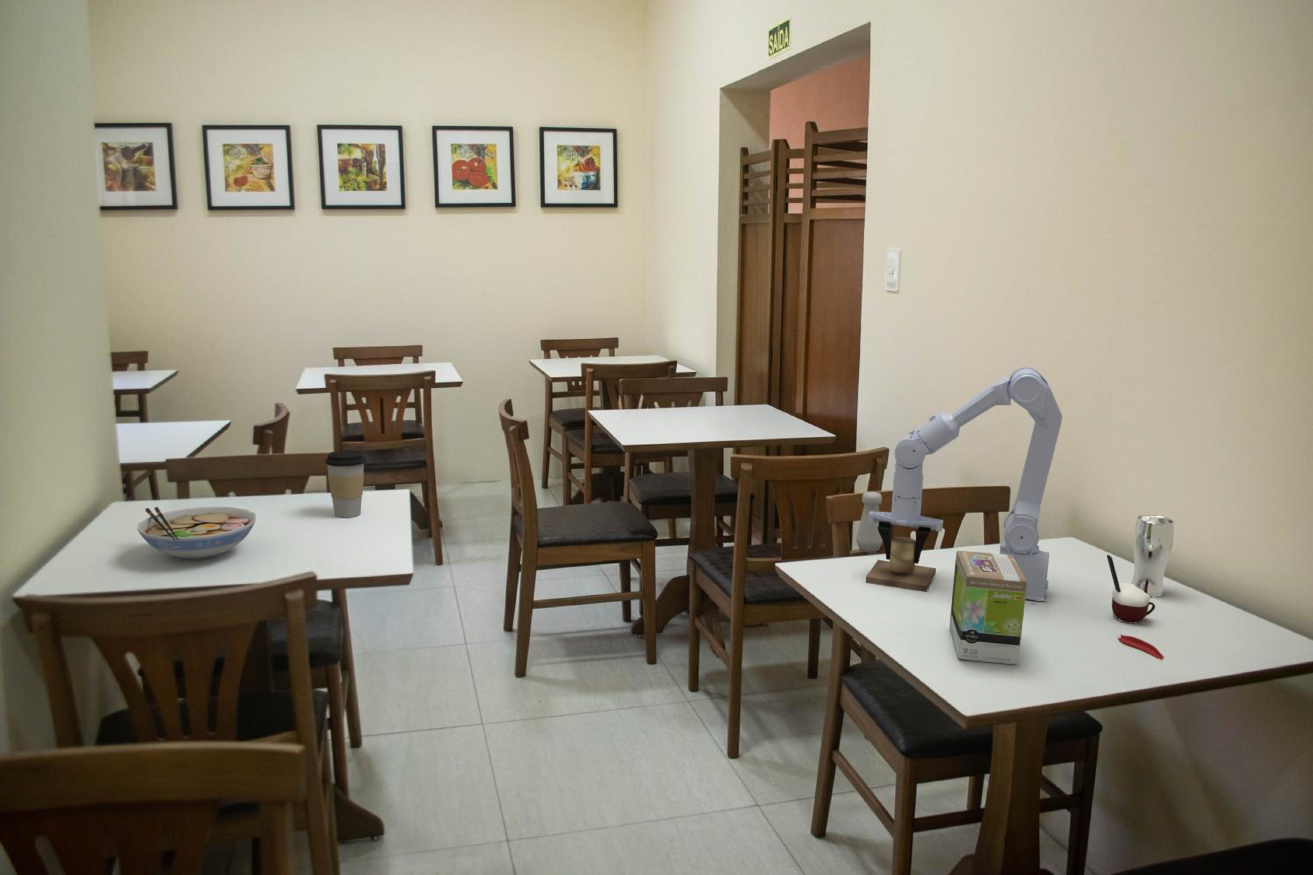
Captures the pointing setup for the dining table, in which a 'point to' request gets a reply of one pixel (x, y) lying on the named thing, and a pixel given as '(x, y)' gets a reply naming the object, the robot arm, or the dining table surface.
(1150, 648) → the cayenne pepper
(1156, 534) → the beer glass
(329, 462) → the coffee cup
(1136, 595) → the cocoa
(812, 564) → the dining table surface
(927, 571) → the walnut board
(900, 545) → the oak cylinder
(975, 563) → the tea box
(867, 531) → the salt shaker
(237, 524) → the ramen bowl
